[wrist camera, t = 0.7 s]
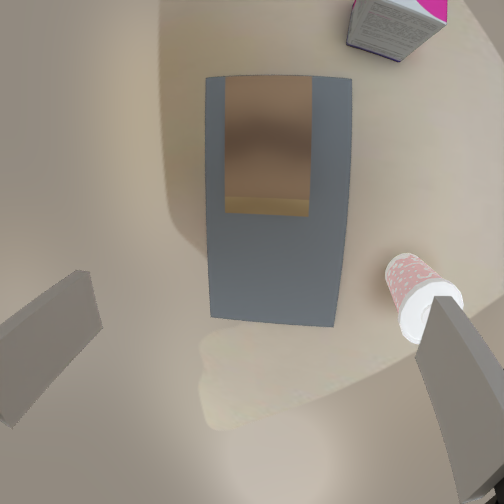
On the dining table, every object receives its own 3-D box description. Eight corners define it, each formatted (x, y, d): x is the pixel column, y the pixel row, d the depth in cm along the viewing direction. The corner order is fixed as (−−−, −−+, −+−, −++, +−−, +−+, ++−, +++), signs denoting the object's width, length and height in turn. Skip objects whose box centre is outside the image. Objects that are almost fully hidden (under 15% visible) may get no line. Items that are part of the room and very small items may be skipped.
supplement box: (401, 64, 23) (448, 27, 13) (344, 45, 24) (365, -5, 13) (407, 19, 21) (448, -29, 10) (353, 1, 22) (372, -58, 11)
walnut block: (245, 94, 27) (225, 76, 19) (309, 95, 26) (311, 76, 18) (245, 195, 30) (224, 212, 22) (307, 198, 29) (308, 216, 21)
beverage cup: (439, 263, 29) (502, 331, 16) (408, 306, 31) (450, 390, 18) (398, 235, 29) (456, 297, 16) (367, 283, 31) (399, 367, 18)
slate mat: (207, 78, 27) (205, 77, 26) (350, 80, 25) (351, 79, 24) (211, 314, 36) (210, 317, 35) (333, 324, 33) (333, 327, 33)
